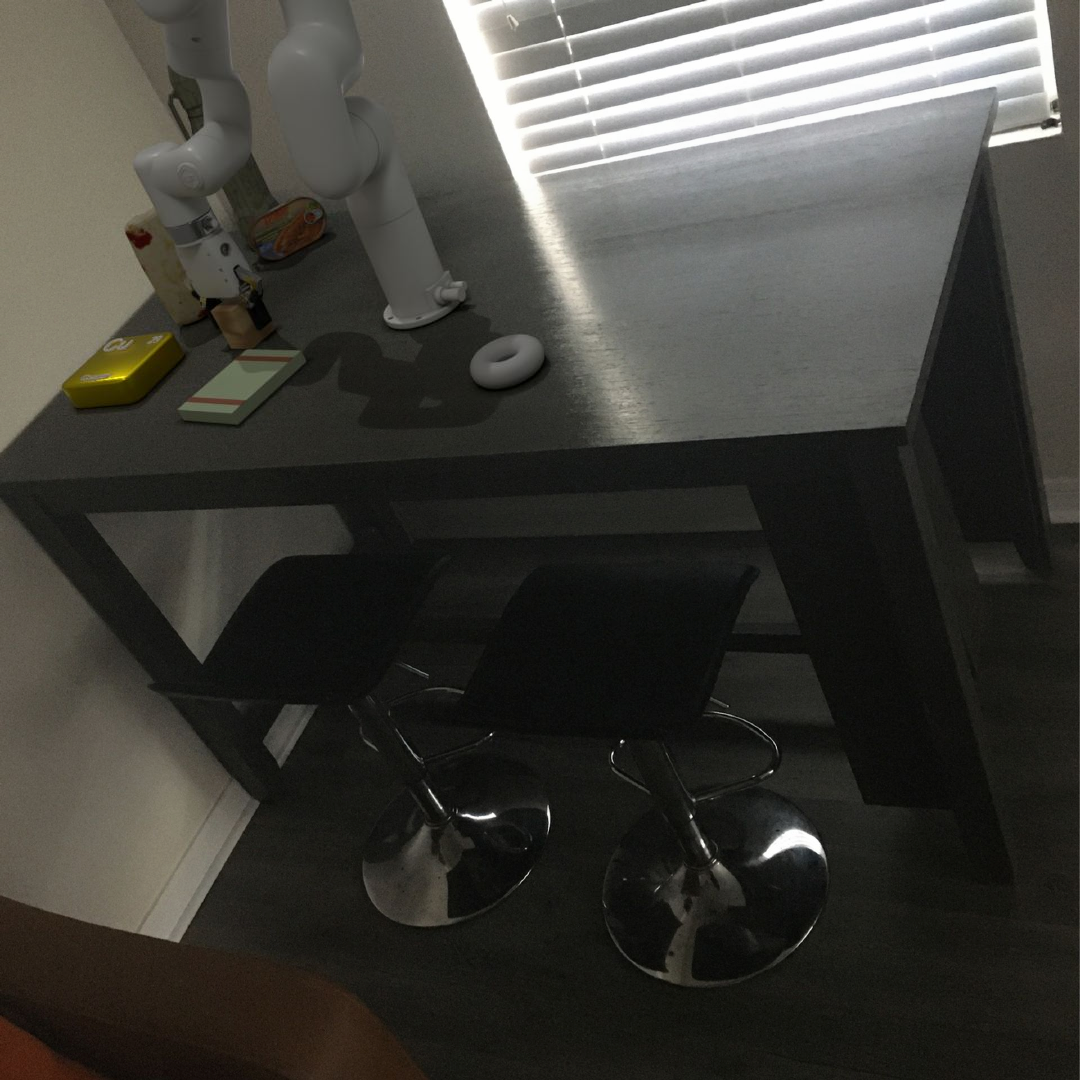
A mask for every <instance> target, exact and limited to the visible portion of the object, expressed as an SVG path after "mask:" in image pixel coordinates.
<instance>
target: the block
mask: <svg viewBox="0 0 1080 1080" xmlns="http://www.w3.org/2000/svg"><path fill="white" fill-rule="evenodd" d="M244 294H245V295H246V296H247V297H249V298H250V294H251V293H249V292H248V291H247V292H246V293H244ZM247 308H248V306H247V305H246V304H245V303H243V302H242V301H241V300H240V299H239V298H238V297H237V298H224V299H223V301H222V302H221V303H220V304H219V305H218V306H216V307H215V308H214V309H213V310H211V313H212V314H213V316H214V318H215V320H216V322H217V324H218V325H219V327H220V329H219V330H220V331H221V333H222V334H223V337H224V338H225V340H226V342H227V344H228V345H229V348H230V349H233V350H247V349H253V350H254V348H255V347H256V346H258V345H259V344H260V343H261V342H262V341H263V340H264V339H265V338H267V337H268V336H269V335H270V334H271V333H273V332H274V331H275V330H276V327H275V326H274V324H273V320H272V321H271V322H270V323H269V324H268V325H267V326H266V327H264V328H263V329H262V330H257V329H256V327H255V325H254V323H253V321H252V319H251V317H250V316H249V314H248V312H247Z"/></svg>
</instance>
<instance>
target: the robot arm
mask: <svg viewBox="0 0 1080 1080" xmlns="http://www.w3.org/2000/svg"><path fill="white" fill-rule="evenodd" d="M134 1H135V3H136V5H137V6H138V8H139V9H140V11H142V12H143V14H144V15H145V16H146V17H148V18H149V19H150V20H152V21H153V22H156V23H158V24H161V25H162V30H163V31H162V33H163V40H164V41H163V43H164V55H165V60H166V63H167V66H168V65H169V67H170V68H171V69H172V70H173V71H175V72H176V73H178V74H180V75H182V76H185V77H188V78H193V79H195V80H196V81H197V83H198V85H199V88H200V91H201V95H202V102H203V115H204V127H203V128H201V129H200V130H199V131H198V132H197V133H196V134H194V135H192V136H190V139H189V140H188V141H186V140H185V142H184V143H182V144H181V145H179V144H178V143H176V142H174V141H163V142H159V143H156V144H153V145H150V146H148V147H146V148H144V149H143V150H141V151H140V152H138V153H137V154H136V155H135V157H134V158H133V161H132V165H133V170H134V172H135V174H136V176H137V178H138V179H139V182H140V183H141V185H142V187H143V189H144V191H145V192H146V194H147V197H148V199H149V200H150V202H151V204H152V205H153V208H155V209H156V211H157V213H158V215H159V217H160V219H161V221H162V223H163V224H164V226H165V228H166V230H167V232H168V234H169V236H170V238H171V239H172V241H173V243H174V245H175V249H176V251H177V254H178V257H179V259H180V261H181V264H182V266H183V268H184V270H185V273H186V275H187V276H186V278H185V279H184V280H183V284H184V285H185V286H186V287H187V289H188V290H189V291H190V292H191V294H192V296H193V297H195V298H196V299H197V300H198V301H200V305H201V306H202V307H203V308H205V307H206V308H205V310H206V312H207V314H208V315H207V316H208V318H209V319H210V321H211V323H212V324H213V326H214V327H213V328H215V330H221V329H220V327H219V325H218V324H217V322H216V320H215V318H214V316H213V314H212V313H211V310H213V309H214V308H215V307H216V306H218V305H219V304H220V303H221V302H223V301H222V299H226V298H237V297H238V298H239V299H240V300H241V301H242V302H243V303H245V304H246V305H247V306H248V308H247V312H248V314H249V316H250V317H251V319H252V321H253V323H254V325H255V327H256V329H257V330H262V329H263V328H264V327H266V326H267V325H268V324H269V323H270V322H271V321H272V322H273V319H272V316H271V314H270V312H269V311H268V309H267V307H266V305H265V302H264V298H265V297H264V294H265V293H264V292H265V290H264V289H265V288H263V287H264V286H263V279H262V277H261V276H260V275H258V274H257V273H254V272H253V271H252V269H251V267H250V265H249V264H248V261H247V260H246V258H245V256H244V254H243V252H241V250H240V248H239V247H238V245H237V244H236V242H235V240H234V239H233V237H232V236H231V235H230V233H229V232H228V231H227V230H226V229H225V227H222V226H221V224H220V221H219V220H218V217H217V216H216V214H215V211H214V210H213V207H212V206H211V204H210V202H209V200H208V197H210V196H213V195H214V194H217V193H218V192H219V191H220V190H221V189H222V187H223V186H224V185H225V184H226V183H227V182H228V181H229V180H230V179H231V178H232V177H233V176H234V175H235V174H236V173H237V172H238V171H239V170H240V169H241V168H242V167H243V166H244V165H245V164H246V162H247V161H248V159H249V156H250V153H252V147H253V124H252V120H253V119H252V108H251V107H252V106H251V102H250V97H249V94H248V91H247V89H246V86H245V84H244V83H243V80H242V78H241V75H240V73H239V72H238V70H237V69H236V67H235V66H234V64H233V59H232V44H231V28H230V12H229V0H134ZM278 2H279V6H280V8H281V12H282V16H283V19H284V23H285V27H286V33H287V34H286V36H285V37H284V38H283V39H282V40H281V41H279V42H278V43H277V45H276V46H275V48H274V49H273V50H272V52H271V54H270V56H269V59H268V64H267V69H266V70H267V71H266V72H267V75H266V76H267V77H266V79H267V87H268V92H269V95H270V98H271V102H272V105H273V107H274V111H275V114H276V117H277V120H278V123H279V125H280V129H281V131H282V135H283V137H284V139H285V140H284V141H285V143H286V146H287V149H288V153H289V155H290V158H291V160H292V163H293V166H294V168H295V170H296V172H297V175H298V176H299V178H300V179H301V181H302V182H303V184H304V185H305V186H306V187H307V188H308V189H309V190H310V191H311V192H312V193H313V194H315V195H317V196H319V197H321V198H323V199H327V200H332V201H336V200H337V201H338V200H342V199H344V200H345V204H346V206H347V209H348V213H349V215H350V217H351V219H352V222H353V224H354V227H355V229H356V232H357V233H358V236H359V239H360V240H361V243H362V245H363V247H364V250H365V252H366V254H367V256H368V259H369V261H370V263H371V266H372V268H373V270H374V272H375V275H376V278H377V280H378V282H379V284H380V287H381V289H382V291H383V293H384V296H385V298H386V300H387V302H388V305H387V306H386V307H385V309H384V311H383V319H384V322H385V324H386V325H387V326H388V327H389V328H392V329H394V330H395V329H396V330H409V329H410V330H411V329H415V328H418V327H423V326H425V325H428V324H431V323H433V322H436V321H438V320H440V319H441V318H443V317H445V316H447V315H448V314H450V313H451V312H452V311H453V310H454V309H456V308H457V307H458V306H459V305H460V303H461V302H464V301H465V300H466V297H467V293H466V291H467V289H468V284H467V282H466V281H465V280H461V281H454V278H453V277H452V275H451V271H450V270H444V268H443V266H442V263H441V260H440V258H439V255H438V253H437V250H436V247H435V245H434V242H433V239H432V237H431V234H430V233H429V230H428V227H427V224H426V222H425V219H424V216H423V213H422V212H421V208H420V207H419V204H418V201H417V197H416V195H415V193H414V190H413V187H412V184H411V182H410V179H409V176H408V174H407V171H406V168H405V164H404V160H403V157H402V153H401V148H400V145H399V140H398V139H399V138H398V136H397V132H396V129H395V126H394V123H393V121H392V119H391V117H390V115H389V114H388V112H387V111H386V109H385V108H384V107H383V106H382V105H381V104H380V103H379V102H378V101H376V100H375V99H373V98H372V97H368V96H365V95H362V94H361V95H360V94H351V95H346V94H347V93H348V92H349V91H350V90H351V89H352V88H353V87H354V85H355V84H356V83H357V82H358V81H359V79H360V77H361V76H362V74H363V72H364V67H365V54H364V50H363V45H362V43H361V39H360V34H359V32H358V28H357V25H356V21H355V17H354V15H353V10H352V7H351V3H350V0H278ZM345 95H346V96H345ZM240 287H241V288H240ZM239 288H240V289H239ZM247 291H248V292H249V293H251V294H250V298H249V297H247V296H246V295H245V294H244V293H246V292H247ZM216 298H218V299H217V300H216Z"/></svg>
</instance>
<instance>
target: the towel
mask: <svg viewBox="0 0 1080 1080" xmlns="http://www.w3.org/2000/svg"><path fill="white" fill-rule="evenodd" d="M306 363H307V360H306V357H305V355H304V354H303V352H302V350H299V349H298V350H296V349H293V350H291V349H254V348H253V349H245V350H244V351H243V352H242V353H241V354H240V355H238V356H237V357H236V358H234V359H233V361H232V362H231V363H229V364H228V365H226V367H224V368H223V369H222V370H221V371H220V372H219V373H218V374H216V375H215V376H214V377H213V378H212V379H210V380H209V381H208V382H207V383H206V384H205V385H204V386H203V387H201V388H200V389H199V390H198V391H197V392H195V393H194V394H193V395H192V396H190V397H189V398H187V400H186V401H185V402H184V403H183V404H181V405H180V407H178V408H177V409H176V410H177V412H178V413H179V415H180V417H181V419H182V420H183V421H186V422H199V423H200V422H201V423H213V424H214V423H215V424H226V425H235V426H236V425H237V426H238V425H239V424H241V423H242V422H243V421H244V420H245V419H246V418H247V417H248V416H250V415H251V414H252V412H254V411H255V410H256V409H257V408H258V407H259V406H260V405H261V404H262V403H264V402H265V401H266V400H267V399H268V398H269V397H270V396H271V395H273V393H275V392H276V391H277V389H279V388H280V387H281V386H282V385H283V384H284V383H285V382H287V380H288V379H290V377H292V376H293V375H294V374H295V373H296V372H297V371H298V370H299V369H301V368H302V366H304V365H305V364H306Z"/></svg>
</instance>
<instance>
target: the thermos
mask: <svg viewBox="0 0 1080 1080" xmlns="http://www.w3.org/2000/svg"><path fill="white" fill-rule="evenodd" d="M166 69H167V73H168V79H169V83H170V85H171V87H172V89H173V90H172V91H171V93H168V95H167V106H168V108H169V110H170V112H171V114H172V116H173V118H174V120H175V122H176V124H177V125H178V128H179V130H180V131H181V134H182V136H183V138H184V139H185V142H186V141H188V140H189V139H190V138H191V136H190V134H189V132H188V130H187V128H186V126H185V124H184V122H183V120H182V118H181V116H180V113H179V112H178V109H177V108H176V106H175V105H174V99H176V100H178V101H179V103H180V106H181V107H182V109H183V110H184V111H185V113H186V116H187V120H188V121H189V123H190V129H191V134H192V136H193V135H194V134H196V133H197V132H198V131H199V130H200V129H201V128H203V127H204V115H203V102H202V95H201V91H200V88H199V85H198V83H197V81H196V80H195V79H193V78H188V77H185V76H182V75H180V74H178V73H176V72H175V71H173V70H172V69H171V68H170V67H169V65H168V64H167V66H166ZM221 189H222V191H223V193H224V194H225V197H226V199H227V201H228V202H229V205H230V207H231V209H232V214H233V217H234V220H235V223H236V225H237V227H238V229H239V231H240V233H241V234H242V237H244V238H245V240H246V242H247V245H248V247H249V248H250V249H253V247H252V246H251V244H250V241H249V228H250V225H251V223H252V222H253V220H254V219H255V218H256V217H258V216H259V215H261V214H263V213H265V212H267V211H269V210H271V209H273V208H275V207H277V206H279V205H280V203H279V201H278V200H277V199H276V198H275V197H274V196H273V194H272V193H271V191H270V189H269V186H268V185H267V182H266V181H265V178H264V176H263V173H262V172H261V169H260V168H259V165H258V164H257V161H256V159H255V157H254V155H253V153H252V152H251V153H250V156H249V159H248V161H247V162H246V164H245V165H244V166H243V167H242V168H241V169H240V170H239V171H238V172H237V173H236V174H235V175H234V176H233V177H232V178H231V179H230V180H229V181H228V182H227V183H226V184H225V185H224V186H223V187H222V188H221Z"/></svg>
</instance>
